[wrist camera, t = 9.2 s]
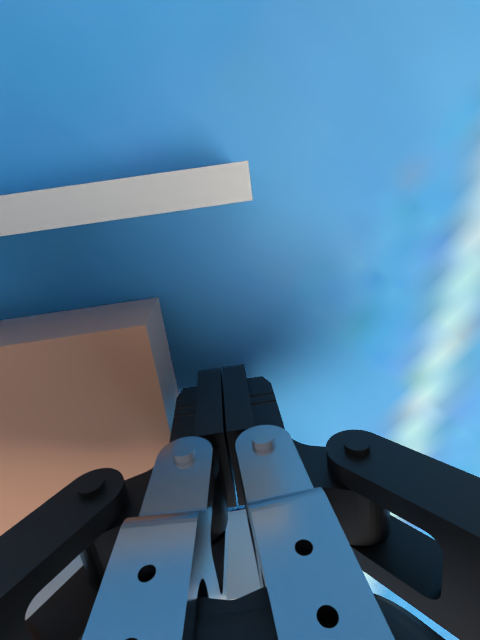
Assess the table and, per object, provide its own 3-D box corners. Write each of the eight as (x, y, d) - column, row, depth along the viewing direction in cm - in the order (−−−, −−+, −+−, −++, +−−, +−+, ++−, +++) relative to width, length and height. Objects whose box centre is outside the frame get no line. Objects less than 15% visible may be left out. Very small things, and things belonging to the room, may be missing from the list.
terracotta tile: (-53, 325, 13) (-128, 365, 10) (159, 294, 13) (145, 324, 10) (16, 492, 15) (-28, 563, 12) (195, 464, 15) (192, 527, 12)
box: (-219, 231, 11) (-400, 252, 8) (237, 167, 11) (248, 160, 8) (-40, 570, 16) (-107, 673, 12) (281, 518, 16) (300, 605, 13)
